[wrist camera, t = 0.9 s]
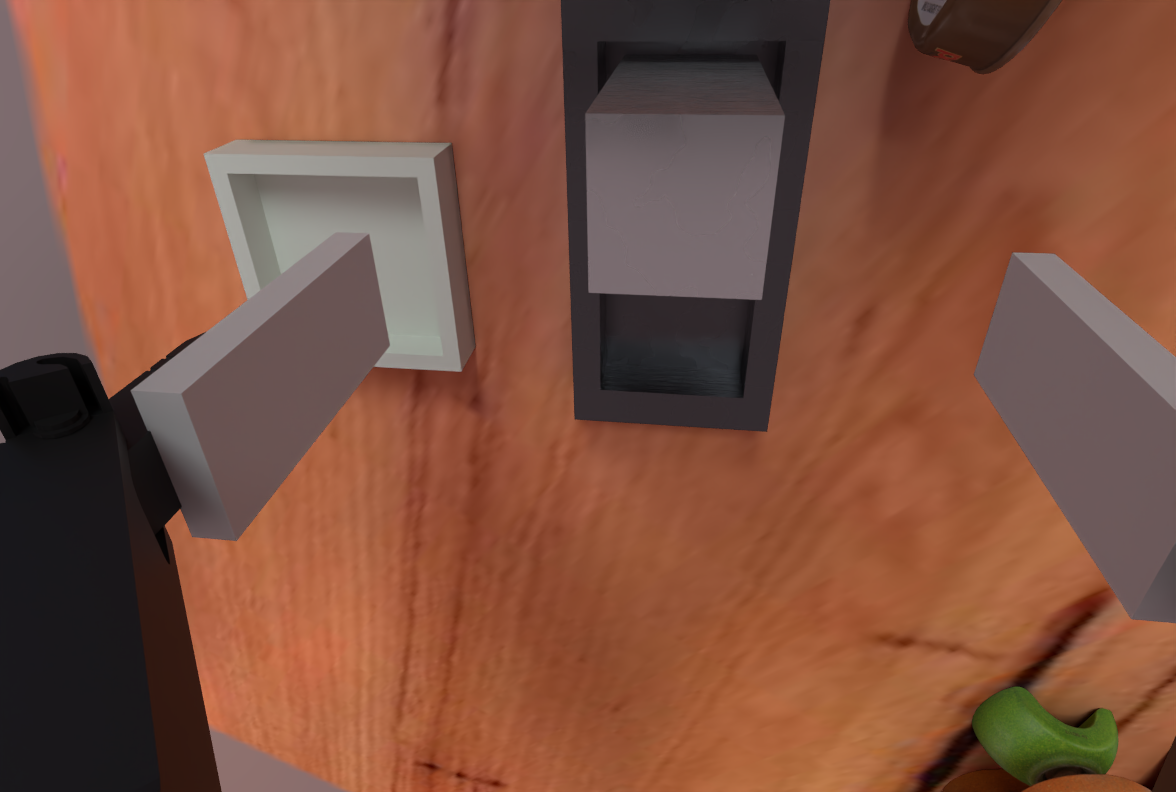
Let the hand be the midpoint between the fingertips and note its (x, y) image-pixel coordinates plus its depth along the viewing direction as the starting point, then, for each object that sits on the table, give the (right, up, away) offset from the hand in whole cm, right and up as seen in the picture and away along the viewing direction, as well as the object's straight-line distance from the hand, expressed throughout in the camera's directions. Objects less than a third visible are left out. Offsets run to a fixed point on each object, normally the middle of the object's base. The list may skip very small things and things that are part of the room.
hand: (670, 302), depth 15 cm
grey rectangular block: (+2, +9, +13) cm, 16 cm away
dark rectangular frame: (+2, +6, +16) cm, 17 cm away
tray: (-13, +5, +19) cm, 23 cm away
